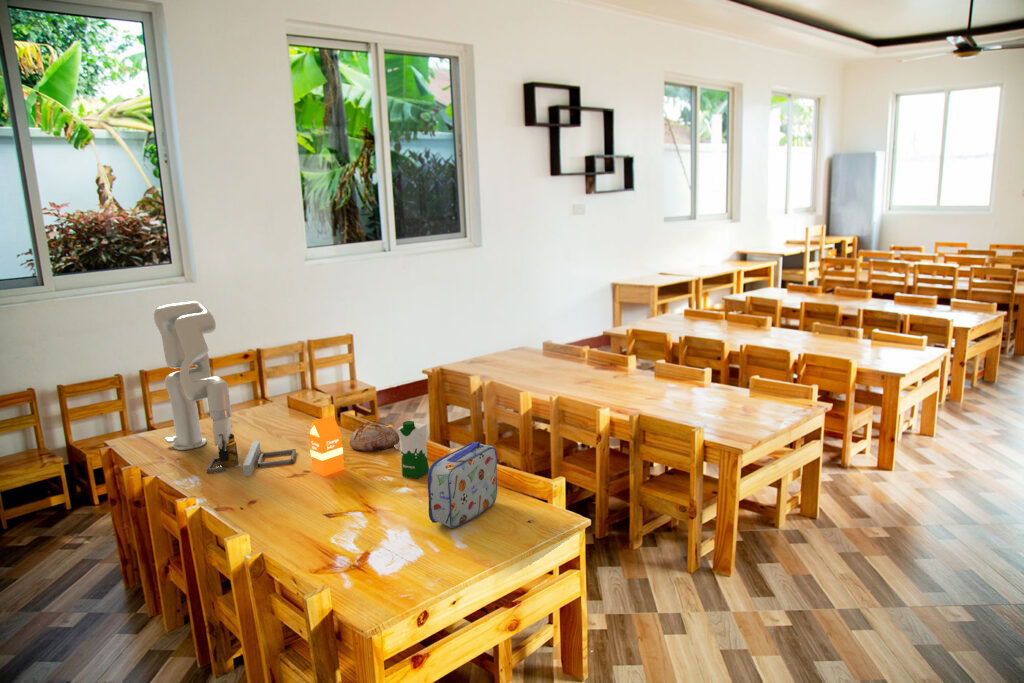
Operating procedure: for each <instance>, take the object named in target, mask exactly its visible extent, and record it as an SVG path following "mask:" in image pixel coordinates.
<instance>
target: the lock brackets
mask: <svg viewBox="0 0 1024 683" xmlns="http://www.w3.org/2000/svg"><path fill="white" fill-rule="evenodd" d="M296 454H297V449H296V448H293V449H283V450H275V451H274V450H273V451H265V452H260V454H259V456H258V459H257V462H256V467H257V468H267V467H275V466H285V465H291V464H292V465H293V464H294V462H295V458H296ZM286 455H291V456H290V459H289V458H288V459H281V460H272V461H263V460H264V458H267V457H268V458H270V457H276V456H286ZM210 460H211V461H210V462H209V463H208V466H207V467H206V470H205V472H206V474H207V473H208V474H215V473H214V472H216V473H224V472H223V471H225V472H226V470H227V469H225V467H218V468H216V467H215V465H216V463H221V462H220V460H219V457H213V458H211V459H210ZM215 462H216V463H215Z"/></svg>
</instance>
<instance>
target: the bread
mask: <svg viewBox="0 0 1024 683" xmlns="http://www.w3.org/2000/svg"><path fill="white" fill-rule="evenodd" d="M385 426H389V425H388V424H385V423H382V422H375V421H367V422H365V423H363V424H362V425H359V426H358V427H357V428H356V429H355V431H354V432H353V433H352V435H351V436H350V439H349V446H350V447H351V448H352V449H354V450H355V451H357V450H358V451H363V452H373V453H375V452H380V451H384V450H387V449H390V448H393V446H396V445H398V444H399V443H400V439H399V435H398V431H396V430H395V429H394V428H393V427H391V426H390V427H385Z"/></svg>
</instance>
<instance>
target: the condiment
mask: <svg viewBox="0 0 1024 683" xmlns="http://www.w3.org/2000/svg"><path fill="white" fill-rule="evenodd" d="M222 443H225V442H222ZM223 446H224V448H225V445H223ZM227 450H228V456H229V461H223V462H220V463H217V464H216V463H215V464H214V468H216V466H217V467H218V466H219V467H220V465H221V466H222V467H225V469H226V468H227V469H226V470H230V469H233V468H236V467H237V468H238V467H241V466H242V464H241V463H240V462H239V454H238V448H237V441H236V440H235V435H234V434H233V433H232V434H231V435H230V437H229V443H228V444H227Z"/></svg>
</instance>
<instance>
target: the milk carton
mask: <svg viewBox="0 0 1024 683" xmlns="http://www.w3.org/2000/svg"><path fill="white" fill-rule="evenodd" d="M427 426H428V425H427V423H420V422H418V423H417V422H415V421H413V420H408V421H407V420H406V421H403V422H402V425H401V426H399V427H398V428H397V429H396V430H397V431H396V432H397V433H398V435H399V439H400V440H399V447H400V460H401V476H403V478H404V477H405V478H409V477H411V478H410V479H415V478H417V479H416V480H419V478H420V479H421V478H423V476H426V475H428V471H429V468H430V466H429V460H428V451H427V450H428V448H427Z"/></svg>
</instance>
